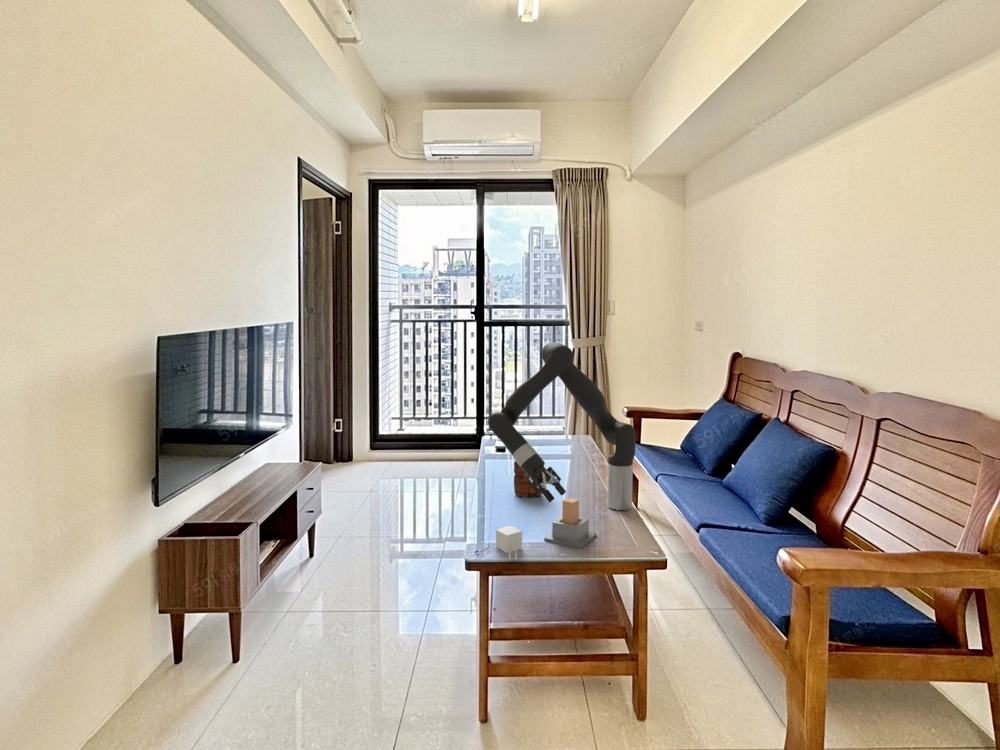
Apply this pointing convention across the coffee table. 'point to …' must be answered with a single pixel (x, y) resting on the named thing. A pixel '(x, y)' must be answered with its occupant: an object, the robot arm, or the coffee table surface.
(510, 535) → the white cube
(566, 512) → the orange rectangular block
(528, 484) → the wooden figurine
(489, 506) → the coffee table surface
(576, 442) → the coffee table surface
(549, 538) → the well
